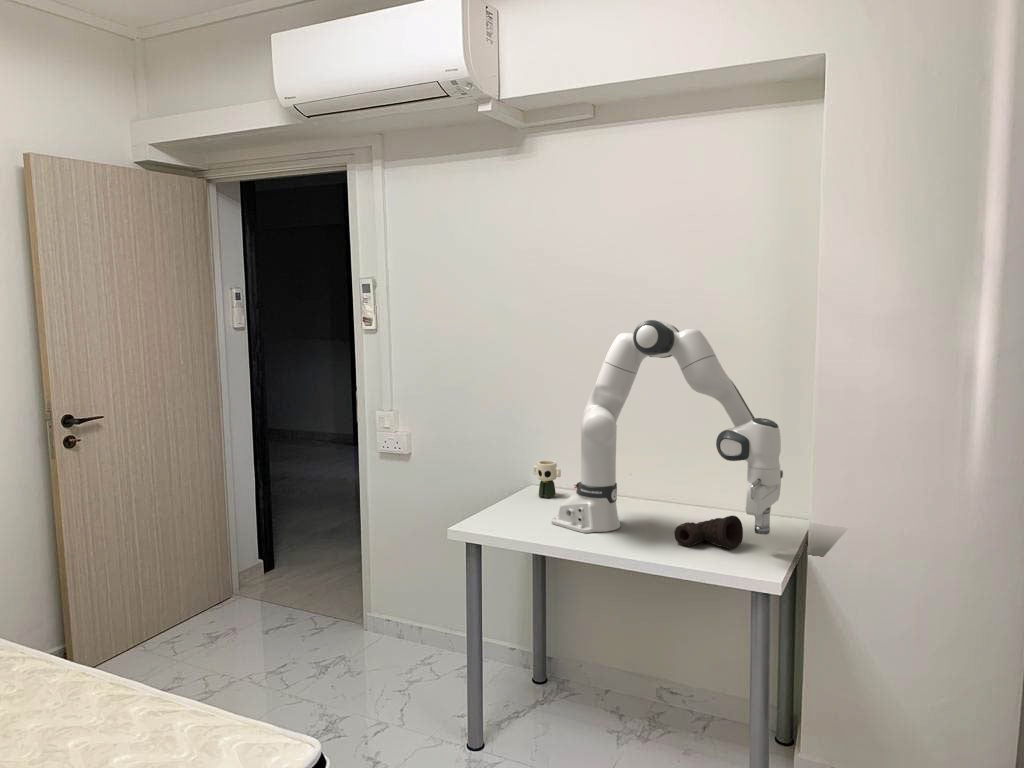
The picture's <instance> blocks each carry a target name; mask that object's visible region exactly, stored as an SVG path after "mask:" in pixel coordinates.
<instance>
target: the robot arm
mask: <svg viewBox="0 0 1024 768" xmlns="http://www.w3.org/2000/svg"><path fill="white" fill-rule="evenodd" d="M647 357H649V358H661V359H663V358H664V359H665V358H671V357H673V358H674V359H675V360H676V362H677V365H678V366H679V368H680V371H681V373H682V376H683V377H684V380H685V381H686V383H687V384H688V385H689V387H690V389H692V390H693V391H695V392H697V393H699V394H703V395H705V396H708V397H711V398H713V399H715V400H716V401H718V402H719V403H720V404H721V405H722V407H723V408H724V410H725V412H726V414H727V415H728V417H729V419H730V420H731V422H732V424H733V426H734V427H730V428H726V429H723V430H722V431H721V432H719V434H718V436H717V437H716V439H715V440H716V441H715V445H716V451H717V452H718V454H719V456H720V457H721V458H723V460H726V461H729V462H739V461H746V463H747V472H746V473H747V474H746V476H747V479H746V480H747V482H748V483H750V484H751V485H750V486H749V487H748V488H747V490H746V496H745V497H746V499H745V512H746V515H749V516H754V521H755V520H756V526H762V525H763V518H762V515H763V512H764V511H765V510H766V509H768V508H770V511H771V510H772V506H773V505H774V504H775V503H777V502H778V501H779V498H780V495H781V488H782V487H781V486H782V478H783V477H784V470H782V469H781V464H780V463H781V462H780V456H781V455H780V454H781V452H782V448H781V447H782V446H781V445H782V442H781V437H782V436H781V429H780V427H779V425H778V424H777V422H775V421H773V420H772V419H769V418H762V417H755V416H754V415H753V413H752V411H751V409H750V408H749V406H748V404H747V403H746V401H745V400H744V397H743V396H742V394H741V393H740V391H739V389H738V388H737V386H736V385H735V383H734V382H733V380H732V379H731V378H730V377H729V375H728V374H727V373H726V371H725V370H724V368H723V366H722V365H721V362H720V361H719V359H718V357H717V355H716V353H715V351H714V349H713V347H712V346H711V344H710V342H709V340H708V339H707V338H706V335H704V334H703V332H701V330H699V329H697V328H687V329H683V330H682V331H680V330H679V329H678V328H677V327H676V326H674V325H673V324H669V323H668V322H665V321H662V320H660V321H659V320H656V319H649V320H645V321H642V322H641V323H639V324H638V325H637V326H636V328H635V329H634V332H633V333H631V332H621V333H619V334H618V335H616V337H615V338H614V340H613V342H612V344H611V346H610V347H609V349H608V350H607V353H606V355H605V358H604V360H603V362H602V365H601V367H600V368H601V369H600V370H599V373H598V376H597V379H596V381H595V384H594V386H593V389H592V390H591V393H590V396H589V398H588V400H587V403H586V405H585V408H584V410H583V413H582V415H581V421H580V423H581V424H580V466H581V467H580V473H581V474H580V481H579V482H577V483H576V484H574V485H573V486H574V487H573V489H576V491H575V493H573V494H572V495H571V496H569V497H568V498H566V499H565V500H564V501H562V502H561V504H560V506H559V510H558V515H555V516H554V517H552V519H551V524H552V525H556V526H560V527H563V528H566V529H569V530H573V531H577V532H581V533H584V534H588V533H595V532H596V533H598V532H599V533H600V532H611V531H616V530H618V529H619V528H620V527H621V522H620V520H619V513H618V507H617V506H618V505H617V500H618V484H617V483H618V482H616V481H617V479H616V478H617V477H616V476H617V474H616V473H617V472H616V470H617V469H616V468H617V463H616V461H617V459H616V458H617V427H618V425H617V422H618V419H619V416H620V415H621V412H622V409H623V408H624V405H625V403H626V400H627V399H628V397H629V395H630V392H631V389H632V387H633V385H634V382H635V380H636V377H637V374H638V371H639V369H640V366H641V364H642V362H643V361H644V360H645V358H647Z"/></svg>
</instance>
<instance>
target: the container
mask: <svg viewBox="0 0 1024 768" xmlns="http://www.w3.org/2000/svg"><path fill="white" fill-rule="evenodd" d="M762 518H763V525H762V526H756V520H755V519H754V533H755V534H756V535H762V536H763V535H770V532H771V526H770V524H771V523H770V522H771V520H770V519H771V510H770V508H768V509H766V510H765V511H764V512H763V515H762Z"/></svg>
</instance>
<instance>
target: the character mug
mask: <svg viewBox="0 0 1024 768" xmlns="http://www.w3.org/2000/svg"><path fill="white" fill-rule="evenodd" d="M557 472H558V473H557ZM561 472H562V471H561V468H560V467H557V461H555V460H548V459H547V460H539V461H537V465H533V475H537V479H538V480H540V482H539V487H538V496H539V497H541V498H543V497H544V498H553V497H554V496H556V495H557V494H556V486H555V482H554V481H555V480H556V479H557V478H561V476H562V475H561V474H562V473H561Z"/></svg>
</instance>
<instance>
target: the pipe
mask: <svg viewBox="0 0 1024 768" xmlns="http://www.w3.org/2000/svg"><path fill="white" fill-rule="evenodd" d="M674 538H675V541H676V542H678V544H680V545H681V546H684V547H692V546H694V545H696V544H699V542H703V541H707V543H709V544H714V545H715V546H719V547H722V548H723V547H724V548H726V549H729V550H736V549H737V548H739V546H740V545H741V544H742V542H743V538H744V528H743V524H742V521H741V519H740V518H739V517H738V516H736V515H728V516H725V517H716V518H714V519H713V518H711V519H709V520H705V521H700V522H694V521H692V522H687V521H686V522H684V523H681V524H680V525H678V526H677V527H676V528H675V529H674Z"/></svg>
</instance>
